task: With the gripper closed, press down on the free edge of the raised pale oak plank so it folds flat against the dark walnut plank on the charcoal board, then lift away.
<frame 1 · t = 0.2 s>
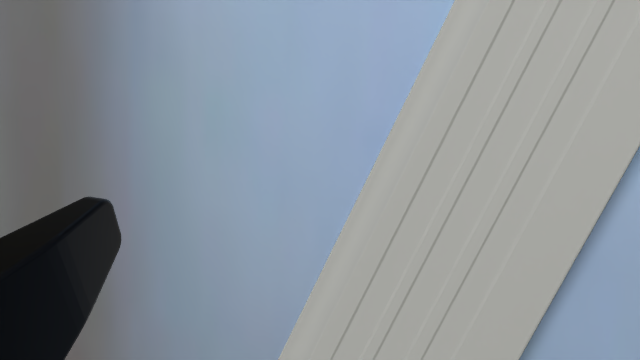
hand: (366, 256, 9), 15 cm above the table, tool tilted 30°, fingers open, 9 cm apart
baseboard: (429, 244, 25), on the table
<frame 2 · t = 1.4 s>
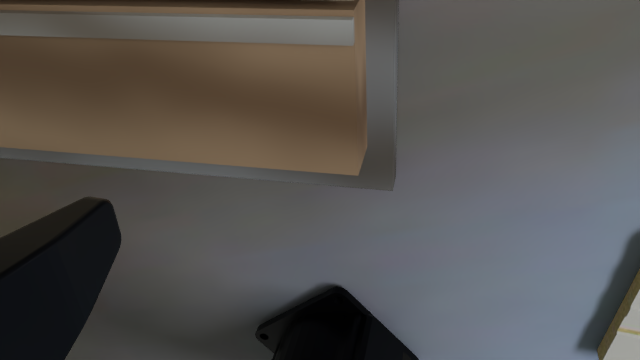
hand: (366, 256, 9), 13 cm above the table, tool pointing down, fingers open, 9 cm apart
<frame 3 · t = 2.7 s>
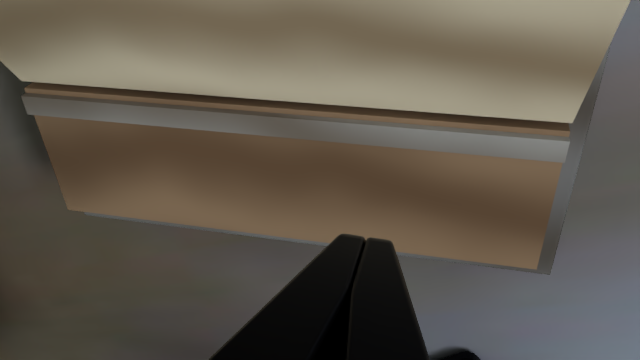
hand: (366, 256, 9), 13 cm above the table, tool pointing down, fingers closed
floor base: (290, 48, 22), on the table
click plank: (249, 8, 17), point 4 cm above the table, hinge at 30.0°
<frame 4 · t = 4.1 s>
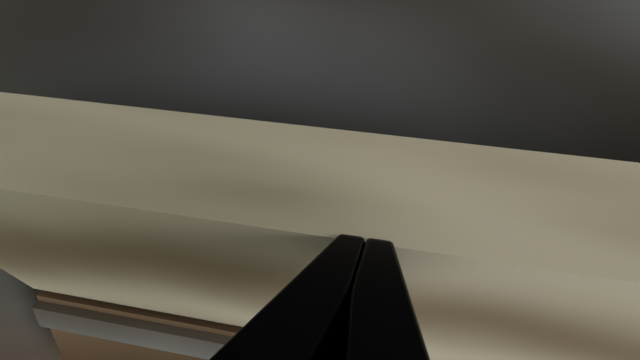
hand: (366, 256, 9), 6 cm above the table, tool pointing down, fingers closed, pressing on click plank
floor base: (391, 253, 17), on the table
click plank: (378, 265, 12), point 4 cm above the table, hinge at 25.6°, touching gripper
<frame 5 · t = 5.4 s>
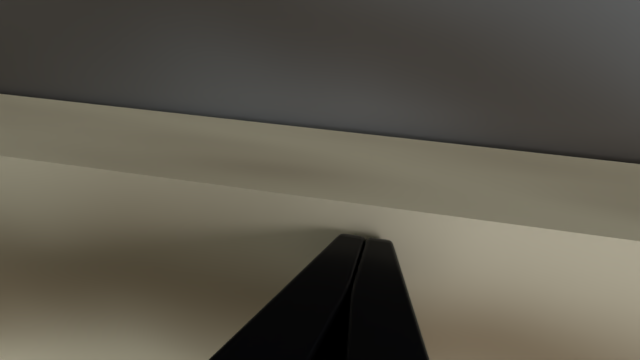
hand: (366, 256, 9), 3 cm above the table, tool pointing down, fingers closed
floor base: (380, 324, 15), on the table
click plank: (372, 309, 12), point 2 cm above the table, hinge at 1.5°
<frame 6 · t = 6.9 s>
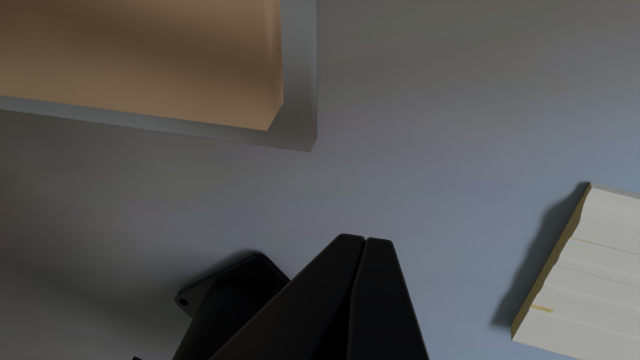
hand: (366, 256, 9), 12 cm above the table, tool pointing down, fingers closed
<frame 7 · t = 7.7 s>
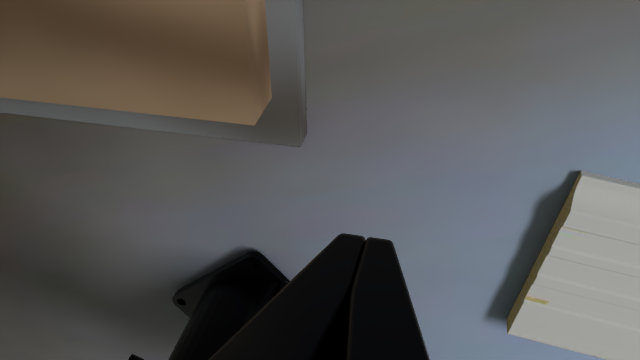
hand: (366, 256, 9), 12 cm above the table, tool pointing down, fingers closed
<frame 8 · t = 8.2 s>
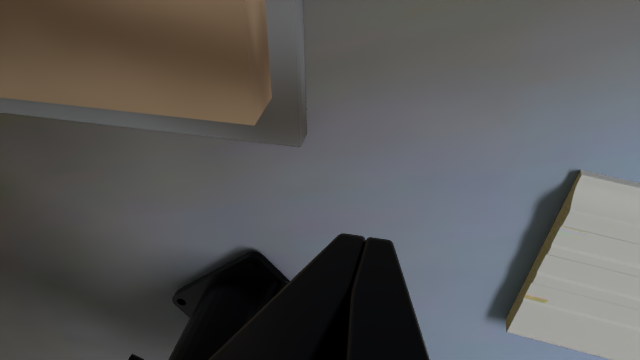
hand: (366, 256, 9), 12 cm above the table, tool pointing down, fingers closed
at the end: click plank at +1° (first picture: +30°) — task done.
